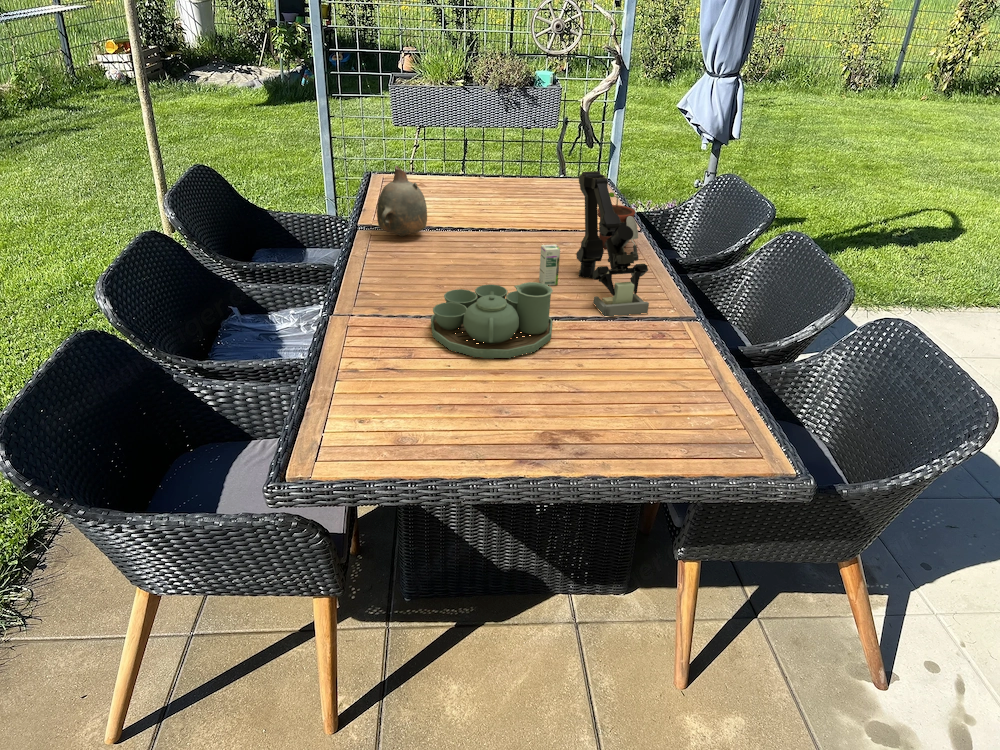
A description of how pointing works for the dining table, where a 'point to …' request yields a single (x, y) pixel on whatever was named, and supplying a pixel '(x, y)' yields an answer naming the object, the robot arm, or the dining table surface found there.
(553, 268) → the syrup box
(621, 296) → the green block
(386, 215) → the jug
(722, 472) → the dining table surface
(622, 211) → the potted plant
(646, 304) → the frame
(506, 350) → the tea set
